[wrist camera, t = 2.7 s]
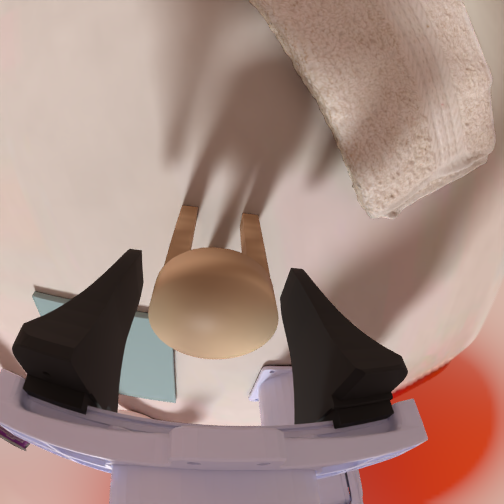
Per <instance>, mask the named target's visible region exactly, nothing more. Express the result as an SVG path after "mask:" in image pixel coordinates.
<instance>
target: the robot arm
mask: <svg viewBox="0 0 504 504" xmlns="http://www.w3.org/2000/svg"><path fill="white" fill-rule="evenodd" d="M142 287H143V269H142V250H134V249H129V250H128V251H127V252H126V253H125V254H124V255H123V256H122V257H120V258H119V259H118V260H117V261H116V262H115V263H114V264H113V265H112V266H111V267H110V268H109V269H108V270H107V271H106V272H105V273H104V274H103V275H102V276H101V277H100V278H98V279H97V280H96V281H95V282H94V283H93V284H92V285H90V286H89V287H88V288H87V289H85V290H84V291H83V292H81V293H80V294H79V295H77V296H76V297H74V298H73V299H71V300H70V301H68V302H66V303H65V304H63V305H62V306H60V307H58V308H57V309H55V310H53V311H51V312H49V313H47V314H45V315H43V316H41V317H38V318H36V319H34V320H31V321H29V322H26V323H24V324H23V326H22V328H21V330H20V332H19V334H18V336H17V338H16V340H15V342H14V344H13V347H12V351H13V354H14V356H15V358H16V359H17V361H18V362H19V363H20V365H21V366H22V367H23V369H24V370H25V371H26V373H27V377H26V380H25V379H24V378H23V377H21V376H19V375H17V374H15V373H12V372H10V371H8V370H6V369H2V370H1V372H0V425H1V426H2V427H3V428H5V429H6V430H8V431H9V432H10V433H12V434H13V435H15V436H17V437H19V438H21V439H23V440H25V441H27V442H29V443H31V444H34V445H35V446H38V447H40V448H42V449H44V450H47V451H49V452H51V453H54V454H56V455H58V456H61V457H63V458H66V459H69V460H71V461H74V462H77V463H79V464H82V465H86V466H88V467H92V468H95V469H98V470H101V471H104V472H108V473H111V485H110V502H109V503H110V504H363V500H362V496H363V492H362V485H361V480H360V475H359V471H358V469H360V468H363V467H366V466H370V465H373V464H376V463H379V462H382V461H385V460H388V459H391V458H394V457H397V456H399V455H401V454H403V453H405V452H407V451H408V450H410V449H412V448H414V447H416V446H418V445H419V444H421V443H423V442H425V441H427V439H428V438H427V435H426V432H425V429H424V426H423V423H422V420H421V417H420V415H419V412H418V409H417V406H416V404H415V401H414V399H409V400H406V401H401V402H398V403H395V404H393V405H391V403H390V400H391V399H392V398H393V396H392V393H391V391H392V390H394V389H395V388H396V387H397V386H398V385H399V384H400V383H401V382H402V381H403V380H404V379H405V377H406V376H407V374H408V370H407V368H406V366H405V363H404V361H403V359H402V357H401V356H400V355H398V354H397V353H395V352H393V351H391V350H389V349H387V348H385V347H384V346H382V345H380V344H379V343H377V342H376V341H374V340H373V339H371V338H370V337H368V336H367V335H366V334H364V333H363V332H362V331H361V330H359V329H358V328H357V327H356V326H354V325H353V324H352V323H351V322H350V321H349V320H348V319H347V318H345V317H344V316H343V315H342V314H341V313H340V312H339V311H338V310H337V309H336V308H335V307H334V305H333V304H332V303H331V302H330V301H329V300H328V299H327V298H326V297H325V295H324V294H323V293H322V292H321V291H320V289H319V288H318V287H317V286H316V285H315V283H314V282H313V281H312V280H311V278H310V277H309V276H308V275H307V274H306V272H305V271H304V270H303V269H297V268H291V270H290V272H289V275H288V278H287V281H286V283H285V286H284V289H283V292H282V294H281V297H280V302H281V314H282V320H283V324H284V329H285V333H286V337H287V342H288V346H289V351H290V356H291V363H292V366H265V367H263V368H262V370H261V372H260V374H259V376H258V378H257V380H256V382H255V385H254V387H253V389H252V391H251V393H250V395H249V397H248V398H249V401H259V407H260V417H261V426H217V425H200V424H188V423H178V422H170V421H162V420H155V419H148V418H142V417H137V416H131V415H126V414H121V413H117V412H118V395H119V385H120V376H121V369H122V362H123V356H124V350H125V345H126V341H127V337H128V334H129V331H130V328H131V325H132V322H133V319H134V316H135V313H136V310H137V307H138V304H139V301H140V297H141V292H142ZM348 487H349V491H348ZM349 492H350V494H349Z"/></svg>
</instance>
